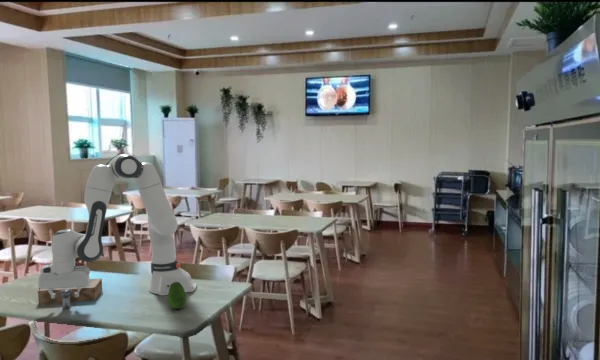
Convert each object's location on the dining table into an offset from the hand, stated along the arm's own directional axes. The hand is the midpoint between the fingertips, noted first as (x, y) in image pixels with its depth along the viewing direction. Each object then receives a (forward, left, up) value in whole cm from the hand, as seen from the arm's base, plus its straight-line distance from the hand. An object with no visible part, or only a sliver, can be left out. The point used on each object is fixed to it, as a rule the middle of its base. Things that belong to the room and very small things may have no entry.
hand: (65, 297), depth 201 cm
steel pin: (0, 0, -5) cm, 5 cm away
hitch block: (+2, -15, -5) cm, 16 cm away
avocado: (-48, +11, -5) cm, 50 cm away
